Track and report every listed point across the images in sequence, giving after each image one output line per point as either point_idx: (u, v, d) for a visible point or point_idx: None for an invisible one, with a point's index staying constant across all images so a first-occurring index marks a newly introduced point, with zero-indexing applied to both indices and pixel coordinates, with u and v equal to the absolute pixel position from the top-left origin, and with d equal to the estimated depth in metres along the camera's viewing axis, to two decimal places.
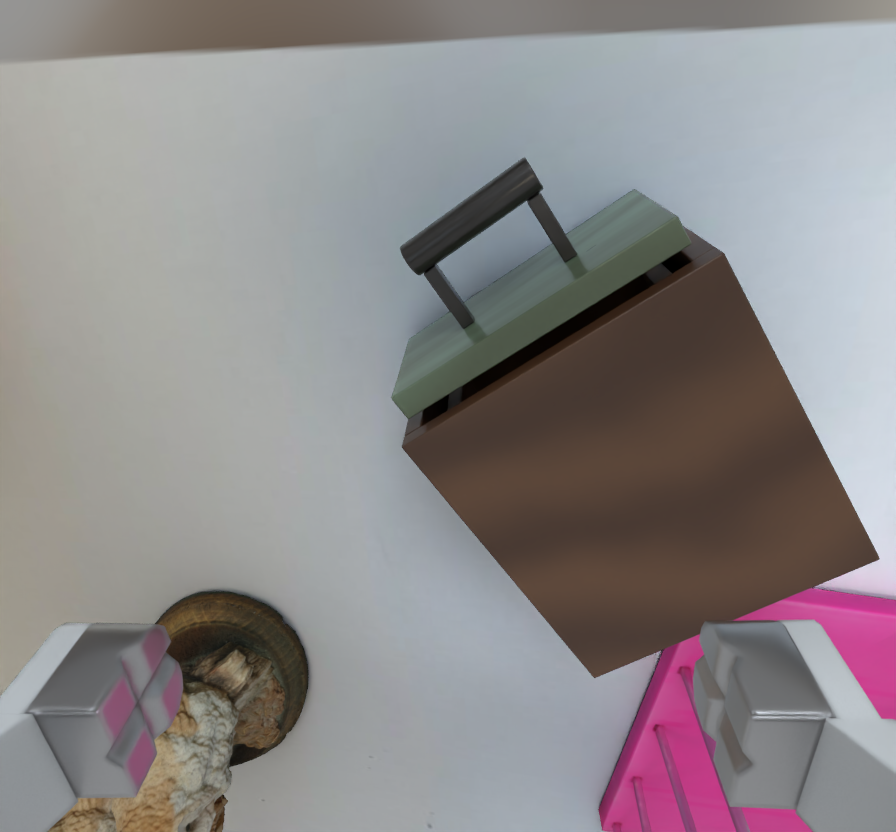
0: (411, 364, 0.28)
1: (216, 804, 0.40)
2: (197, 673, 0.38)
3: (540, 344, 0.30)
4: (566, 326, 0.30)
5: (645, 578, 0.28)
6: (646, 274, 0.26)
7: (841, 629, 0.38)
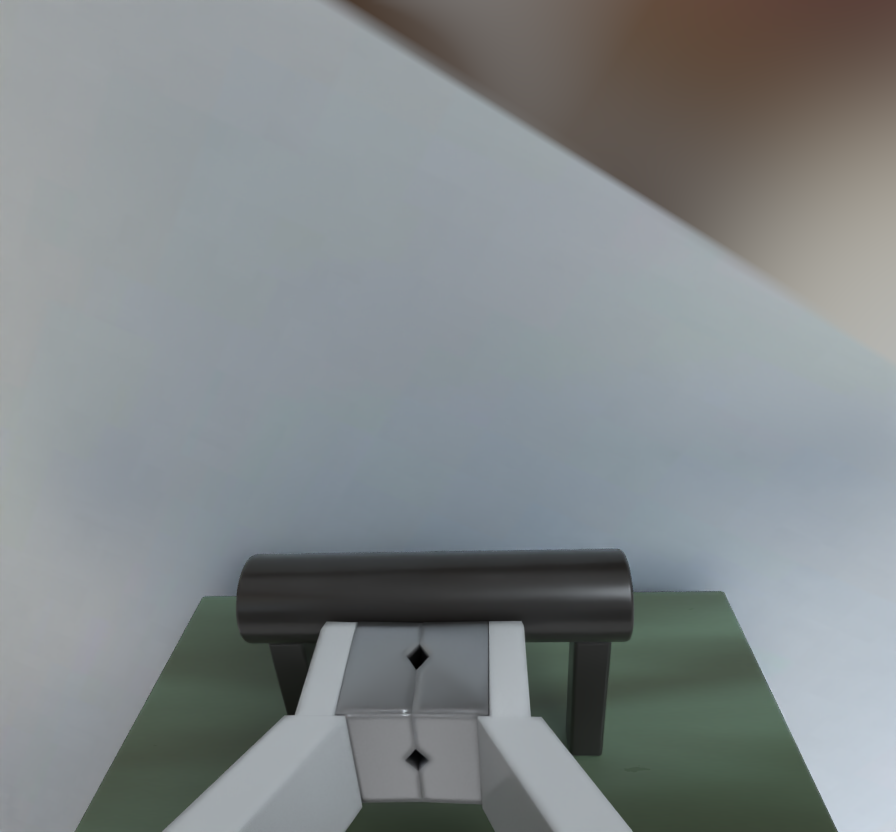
0: (150, 760, 0.12)
1: None
2: None
3: None
4: None
5: None
6: None
7: None
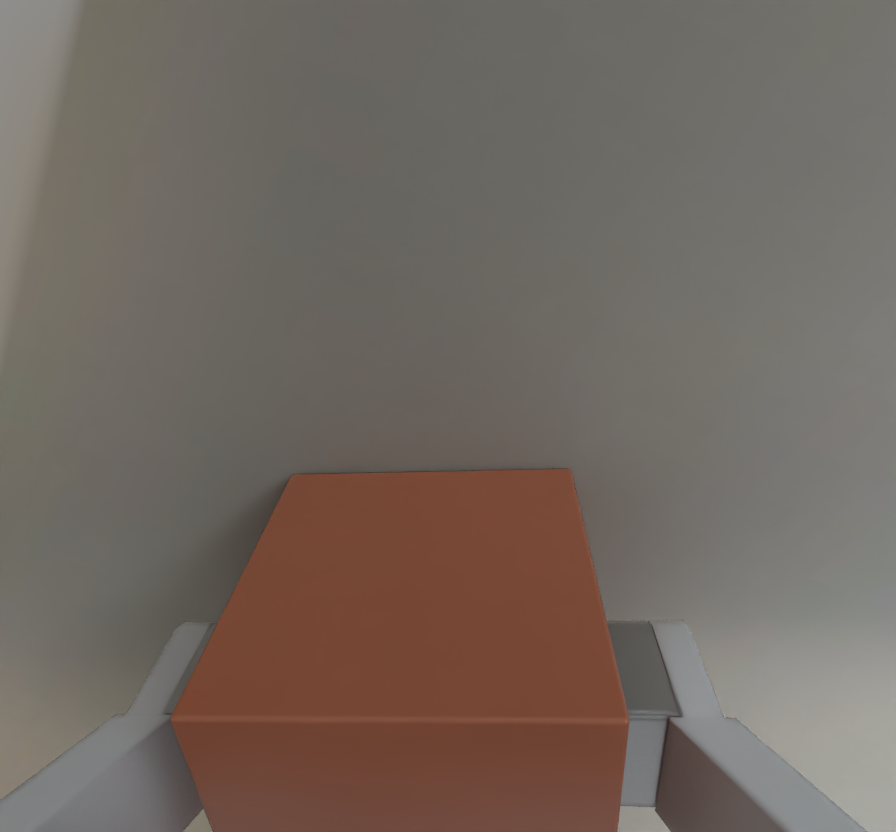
0: None
1: None
2: None
3: None
4: None
5: None
6: None
7: None
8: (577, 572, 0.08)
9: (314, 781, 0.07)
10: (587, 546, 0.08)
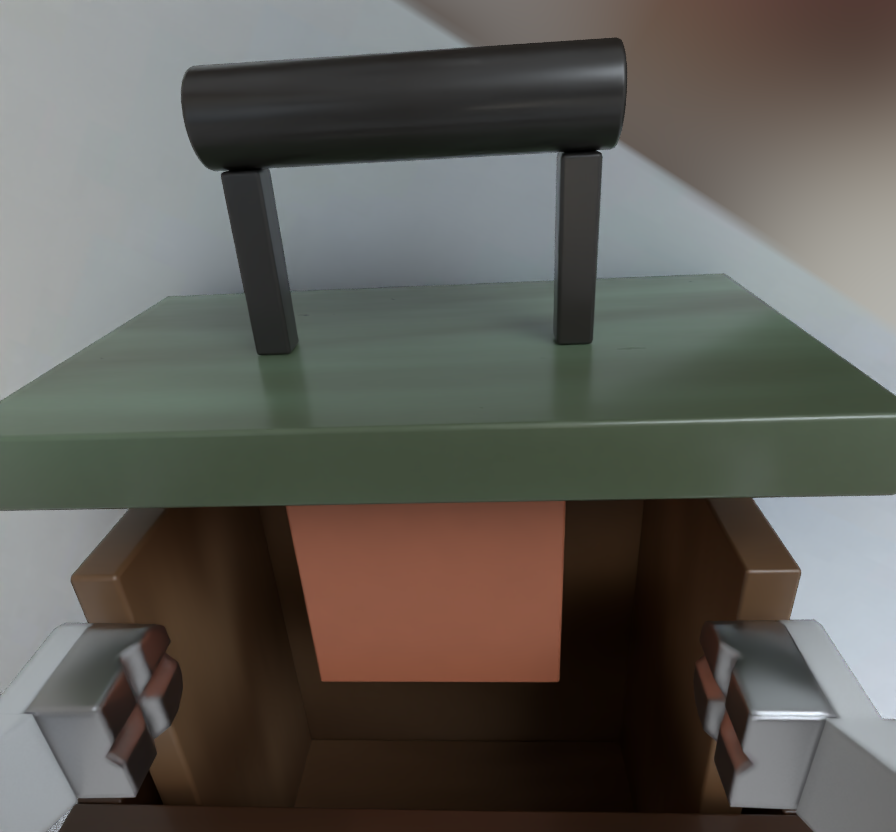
0: (94, 364, 0.11)
1: None
2: None
3: None
4: None
5: None
6: None
7: None
8: None
9: (369, 530, 0.10)
10: None
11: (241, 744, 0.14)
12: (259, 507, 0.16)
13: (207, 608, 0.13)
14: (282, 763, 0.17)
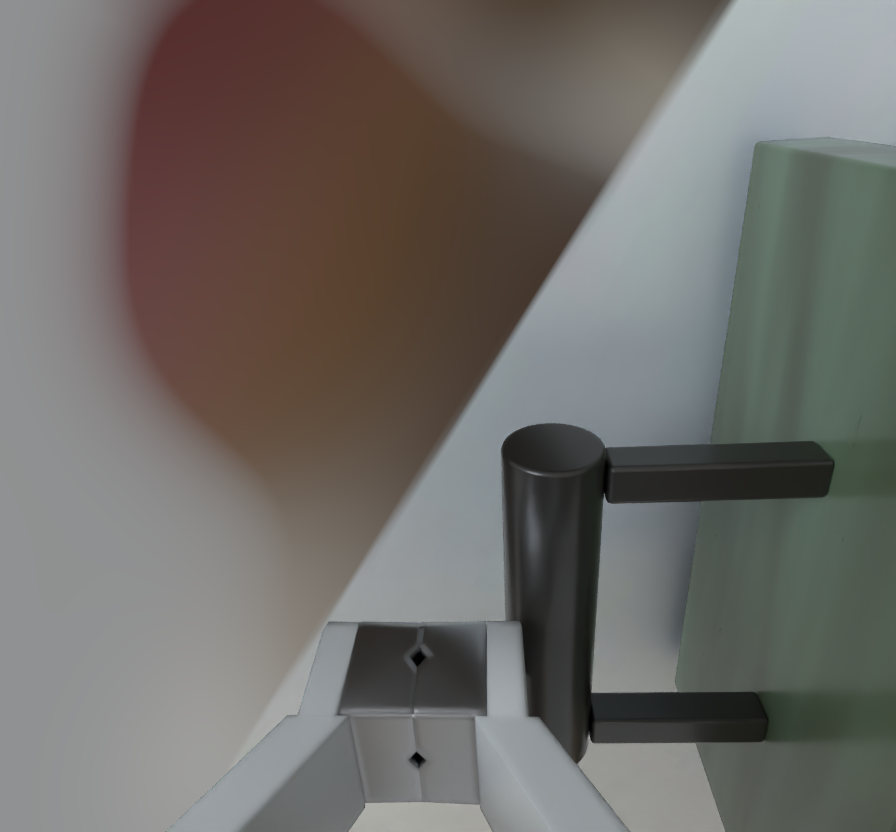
0: None
1: None
2: None
3: None
4: None
5: None
6: None
7: None
8: None
9: None
10: None
11: None
12: None
13: None
14: None
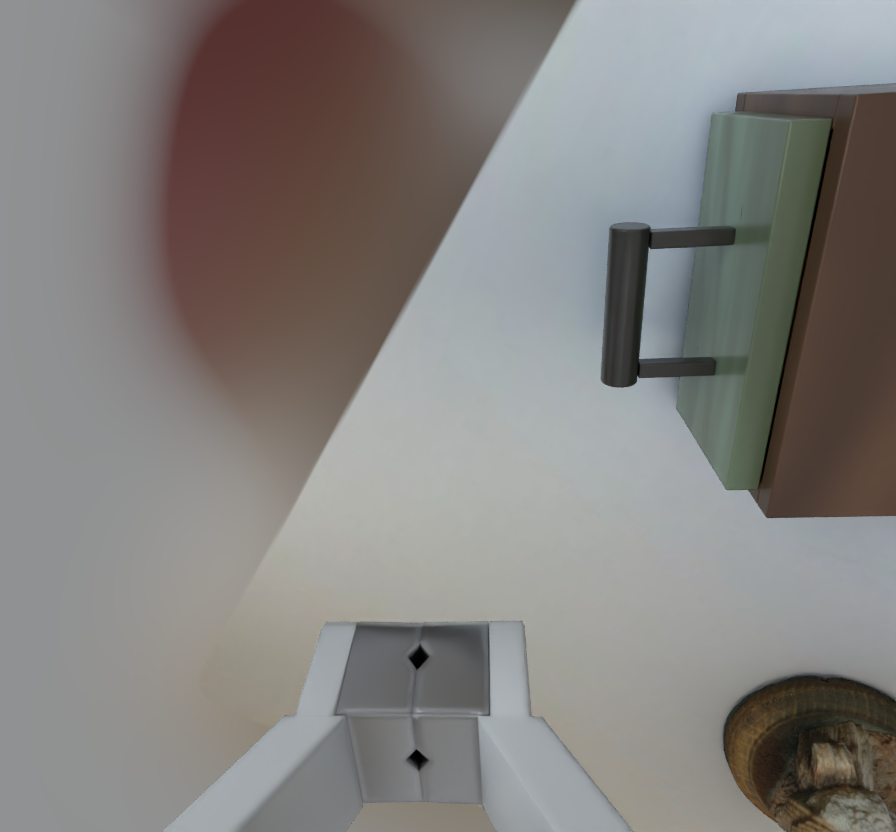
0: (706, 439, 0.26)
1: None
2: (804, 785, 0.35)
3: None
4: None
5: None
6: None
7: None
8: None
9: None
10: None
11: None
12: None
13: None
14: None
